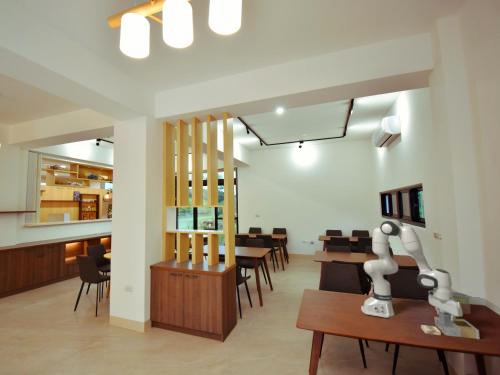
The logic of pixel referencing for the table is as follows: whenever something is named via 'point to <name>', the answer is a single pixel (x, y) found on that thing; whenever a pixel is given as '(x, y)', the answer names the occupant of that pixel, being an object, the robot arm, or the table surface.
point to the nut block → (445, 318)
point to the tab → (430, 330)
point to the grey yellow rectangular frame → (458, 328)
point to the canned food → (463, 302)
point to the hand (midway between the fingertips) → (445, 317)
